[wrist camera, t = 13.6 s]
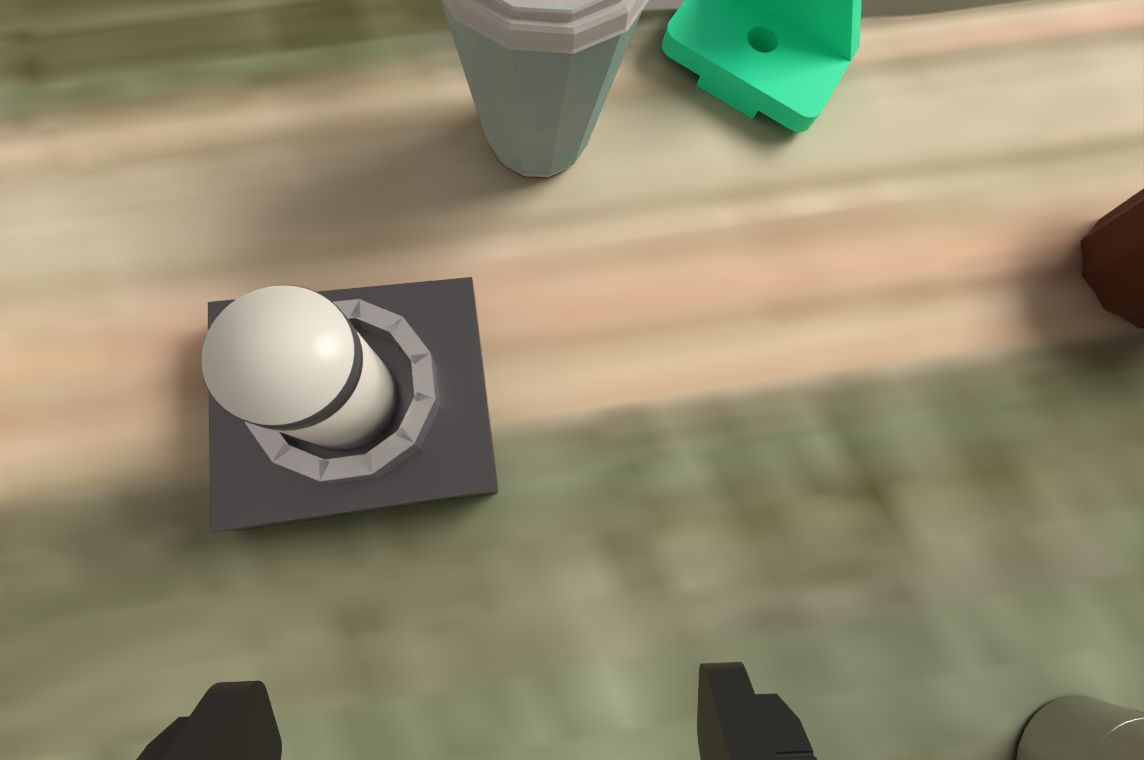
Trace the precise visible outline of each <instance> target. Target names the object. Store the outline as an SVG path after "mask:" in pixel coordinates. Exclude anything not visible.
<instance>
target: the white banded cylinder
mask: <svg viewBox="0 0 1144 760" xmlns="http://www.w3.org/2000/svg"><path fill="white" fill-rule="evenodd" d="M201 364H202V373H203V377H204V381H205V383H206V386H207V388H208V390H209V392H210V394H211V395H212V397H213V398H214V400H215V401H216V402H217V403H218V404H219V405H220V406H221V407H222V408H223V409H224V410H225V411H227V412H228V413H229V414H231V415H232V416H234V417H236V418H238V419H240V420H242V421H245V422H248V423H251V424H254V425H257V426H260V427H263V428H266V429H271V430H276V431H278V432H281V433H284V434H287V435H290V436H293V437H296V438H299V439H302V440H305V441H308V442H311V443H314V444H316V445H319V446H322V447H325V448H329V449H336V450H346V449H352V448H357V447H360V446H362V445H365V444H367V443H369V442H370V441H372V440H374V439H375V438H376V437H378V436H379V435H380V434H381V433H382V432H383V431H384V430H385V429H386V427H387V426H388V425H389V423H390V421H391V420H392V418H393V415H394V413H395V410H396V406H397V387H396V383H395V380H394V377H393V375H392V373H391V372H390V370H389V369H388V368H387V366H386V365H385V364H384V363H383V362H382V360H381V359H380V358H379V357H378V356H377V354H376V353H375V352H374V351H373V350H372V349H371V347H370V346H369V345H368V344H367V343H366V341H365V340H364V339H363V338H362V337H361V336H360V334H359V333H358V332H357V331H356V329H355V328H354V326H353V325H352V323H351V322H350V321H349V319H348V318H347V317H346V316H345V315H344V313H343V312H342V311H341V310H340V309H339V308H338V306H337V305H335V304H334V303H333V302H332V301H331V300H329V299H328V298H327V297H325V296H324V295H322V294H320V293H318V292H316V291H313V290H310V289H307V288H303V287H299V286H291V285H277V286H270V287H265V288H261V289H257V290H255V291H252V292H250V293H247V294H245V295H243V296H242V297H240V298H238V299H237V300H235V301H234V302H232V303H231V304H230V305H228V306H227V307H226V308H225V309H224V310H223V311H222V312H221V313H220V314H219V315H218V317H217V318H216V319H215V321H214V322H213V324H212V325H211V327H210V329H209V331H208V333H207V335H206V338H205V341H204V344H203V349H202V359H201Z"/></svg>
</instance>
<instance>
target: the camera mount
mask: <svg viewBox="0 0 1144 760" xmlns="http://www.w3.org/2000/svg"><path fill="white" fill-rule="evenodd" d="M860 20H861V0H684V2H683V3H682V5H681V6H680V8H679V9H678V10H677V12H676V13H675V14H674V16H673V17H672V19H671V20H670V21H669V23H668V26H667V29H666V32H665V35H664V38H663V41H662V50H663V52H664V53H665V54H666V55H667V56H668V57H669V58H671V59H673V60H674V61H676V62H678V63H679V64H681V65H683V66H684V67H686V68H688V69H689V70H691V71H693V72H694V73H696V74H698V75H700V78H699V80H698V83H697V85H696V86H698V87H699V88H701V89H703V90H704V91H706V92H708V93H709V94H711V95H713V96H715V97H716V98H718V99H720V100H721V101H723V102H725V103H726V104H728V105H730V106H731V107H733V108H735V109H736V110H738V111H740V112H741V113H743V114H745V115H746V116H748V117H750V118H751V119H753V118H754V116H755V115H756V113H757V111H760V112H762V113H763V114H765V115H767V116H768V117H770V118H772V119H773V120H775V121H777V122H778V123H780V124H782V125H783V126H785V127H787V128H788V129H790V130H792V131H795V132H803V131H806V130H807V129H809V127H810V126H811V125H812V123H813V122H814V121H815V120H816V118H817V117H818V116H819V114H820V113H821V112H822V110H823V108H824V107H825V105H826V103H827V101H828V100H829V98H830V96H831V95H832V93H833V91H834V89H835V88H836V86H837V84H838V82H839V81H840V79H841V77H842V76H843V74H844V72H845V70H846V69H847V67H848V65H849V63H850V62H851V60H852V58H853V57H854V55H855V53H856V51H857V50H858V48H859V41H860Z"/></svg>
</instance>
